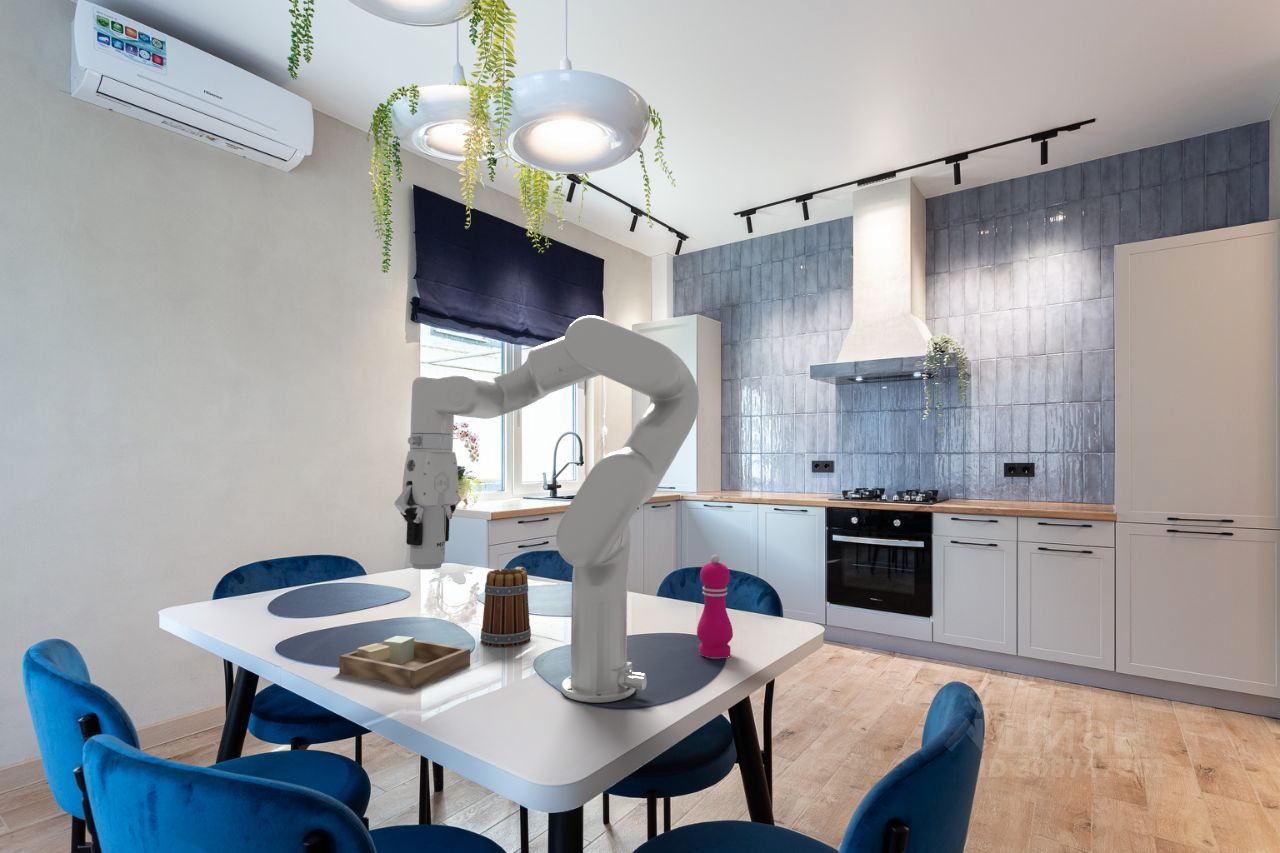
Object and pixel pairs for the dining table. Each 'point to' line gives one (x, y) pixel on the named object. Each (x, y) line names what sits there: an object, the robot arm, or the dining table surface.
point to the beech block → (375, 652)
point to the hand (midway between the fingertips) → (428, 541)
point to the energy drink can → (431, 537)
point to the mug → (506, 608)
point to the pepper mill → (714, 611)
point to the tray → (409, 665)
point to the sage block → (400, 649)
